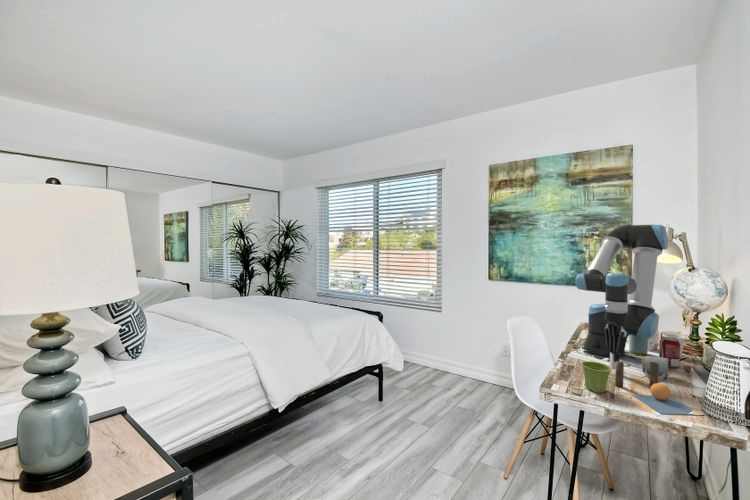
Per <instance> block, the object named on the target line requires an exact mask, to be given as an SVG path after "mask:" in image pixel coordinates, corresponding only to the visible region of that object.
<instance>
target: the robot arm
mask: <svg viewBox="0 0 750 500" xmlns="http://www.w3.org/2000/svg"><path fill="white" fill-rule="evenodd" d="M668 247H669V238H668V232H667V229H666V227H665V226H664V225H663V224H627V225H626V224H624V225H621V226H617V227H616V228H613V229H612V230H611V231H609V232H608V233H607V234H606V235H604V236H603V238H602V240H601V241H600V247H599V250H598V251H597V253H596V254H595V256H594V258H593V260H592V262H590V264H589V267H588V269H587V271H586V272H585V273H577V274H576V277H575V281H574V282H575V287H576V288H577V289H578V290H581V291H586V292H597V293H604V294H605V297H604V299H605V303H594V304H593V303H592V304H591V305H589V307H588V313H587V314H588V318H587V319H588V320H587V321H588V323H587V328H588V329H587V336H586V337H585V340H584V342H583V349H584V350H585V351H586V350H587V352H590V353H592V354H594V355H595V354H596V355H600V356H609V367H611V368H612V370H616V361H620V355H622V354H623V355H624V353H625V349H626V344H627V342H628V341H627V339H628V337H629V336H630V335H633V336H637V337H644V338H651V337H652V336H653V335H654V334H655V332H656V330H657V327H658V328H659V323H660V321H659V320H660V316H659V314H658V313H657V312H656V309H655V308H654V307H653V305H652V301H653V296H654V295H653V293H654V285H655V281H656V280H655V279H656V270H657V263H658V257H659V256H660V255H662V254H663V251H664V250H667V249H668ZM623 249H631V253H632V254H634V257H633V265H632V271H631V276H629V275H628V274H626V273H619V272H616V273H615V272H611V273H610V272H609V271H610V268H611V266H612V264H613V262H615V261H614V260H615V259H616V257H617V255H618V253H620V252H622V250H623Z"/></svg>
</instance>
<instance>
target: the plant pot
mask: <svg viewBox="0 0 750 500" xmlns="http://www.w3.org/2000/svg"><path fill="white" fill-rule="evenodd" d="M580 365H581V366H582V369H583V376H584V386H585V388H586V389H587V390H589V391H592V392H594V393H605V392H606V390H607V385H608V380H609V375H610V374H611V372H612V370H613V369H612V368H611V367H610V365H608V364H605V363H602V362H597V361H589V360H588V361H581V363H580Z"/></svg>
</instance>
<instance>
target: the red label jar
mask: <svg viewBox="0 0 750 500" xmlns="http://www.w3.org/2000/svg"><path fill="white" fill-rule="evenodd" d="M661 335H662V337H673V338H677V339H678V342H679V343H680V358H681V359H682V356H683V350H684V345H685V342H686V339H687V338H686V337H685V336H683V335H680V334H674V333H663V334H661Z"/></svg>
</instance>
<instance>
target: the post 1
mask: <svg viewBox="0 0 750 500" xmlns="http://www.w3.org/2000/svg"><path fill="white" fill-rule="evenodd" d="M624 368H625V362H623V361H620V360H619V361H616V369H615V375H614V376H615V378H614V379H615V382H614V383H615V384H614V386H615V387H617V388H623V387H624V372H625V371H624V370H625V369H624Z"/></svg>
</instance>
